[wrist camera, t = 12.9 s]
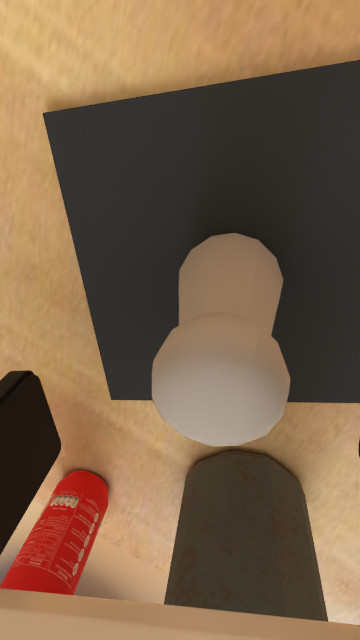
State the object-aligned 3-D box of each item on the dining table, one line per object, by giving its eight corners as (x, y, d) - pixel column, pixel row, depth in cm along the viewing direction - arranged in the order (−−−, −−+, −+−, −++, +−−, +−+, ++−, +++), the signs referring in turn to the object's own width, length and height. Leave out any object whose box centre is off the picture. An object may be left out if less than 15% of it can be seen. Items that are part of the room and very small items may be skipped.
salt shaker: (289, 299, 21) (345, 465, 10) (204, 325, 23) (167, 492, 12) (261, 209, 19) (288, 284, 8) (170, 245, 21) (84, 349, 10)
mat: (113, 395, 28) (111, 400, 27) (47, 114, 20) (42, 113, 19) (380, 398, 24) (383, 403, 23) (436, 49, 16) (443, 45, 15)
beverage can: (115, 476, 32) (51, 635, 21) (109, 510, 34) (49, 669, 24) (63, 461, 32) (-26, 610, 22) (60, 496, 35) (-20, 646, 24)
